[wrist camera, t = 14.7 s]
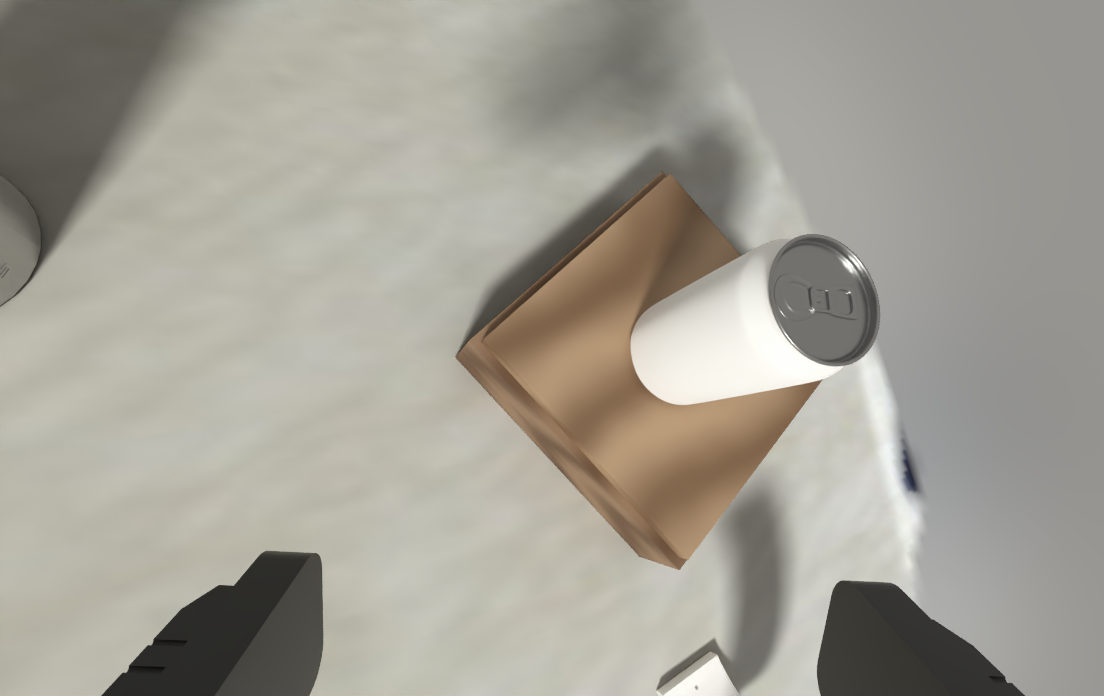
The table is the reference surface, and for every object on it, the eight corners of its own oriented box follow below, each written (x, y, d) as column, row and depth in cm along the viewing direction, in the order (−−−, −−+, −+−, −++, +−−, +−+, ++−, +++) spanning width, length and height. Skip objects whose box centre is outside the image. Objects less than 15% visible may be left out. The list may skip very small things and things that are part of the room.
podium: (455, 357, 35) (471, 337, 30) (629, 203, 42) (669, 163, 36) (639, 556, 37) (688, 573, 31) (781, 377, 43) (842, 364, 38)
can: (624, 298, 33) (753, 215, 22) (716, 306, 35) (877, 233, 24) (629, 405, 32) (769, 374, 21) (724, 407, 34) (898, 379, 23)
